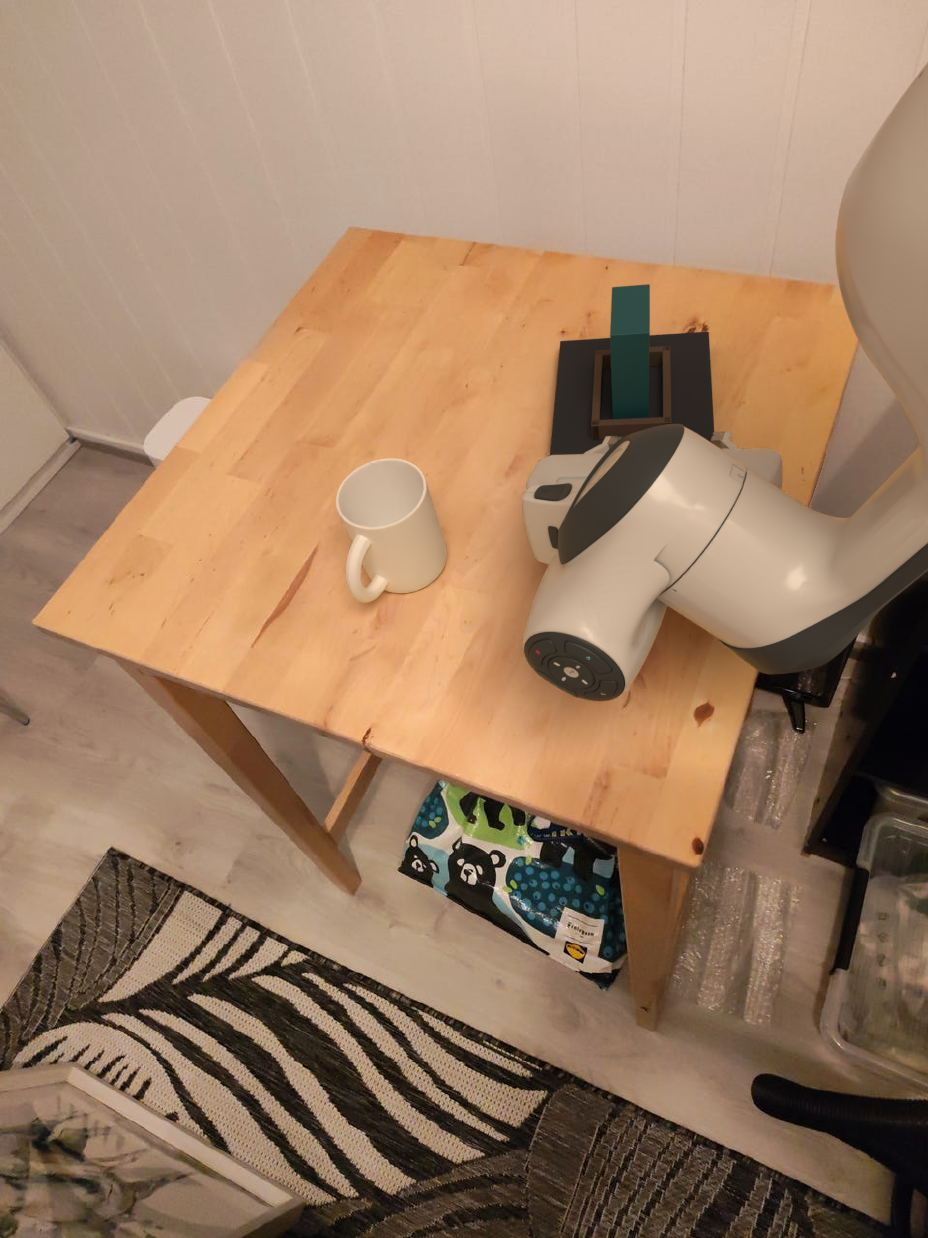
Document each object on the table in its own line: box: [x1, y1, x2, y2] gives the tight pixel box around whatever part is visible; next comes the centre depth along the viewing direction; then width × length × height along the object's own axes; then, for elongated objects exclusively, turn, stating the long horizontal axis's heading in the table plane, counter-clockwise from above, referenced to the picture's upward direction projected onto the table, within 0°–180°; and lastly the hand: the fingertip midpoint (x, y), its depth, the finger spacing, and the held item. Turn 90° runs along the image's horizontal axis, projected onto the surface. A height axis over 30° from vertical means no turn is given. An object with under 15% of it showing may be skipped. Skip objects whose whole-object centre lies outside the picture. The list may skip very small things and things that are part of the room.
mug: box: [335, 457, 448, 603], centre depth 74 cm, size 12×8×10 cm
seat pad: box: [549, 331, 715, 456], centre depth 83 cm, size 16×20×4 cm
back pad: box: [609, 283, 651, 419], centre depth 79 cm, size 4×7×11 cm, turn 173°
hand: (668, 440), depth 71 cm, fingers open, 8 cm apart
